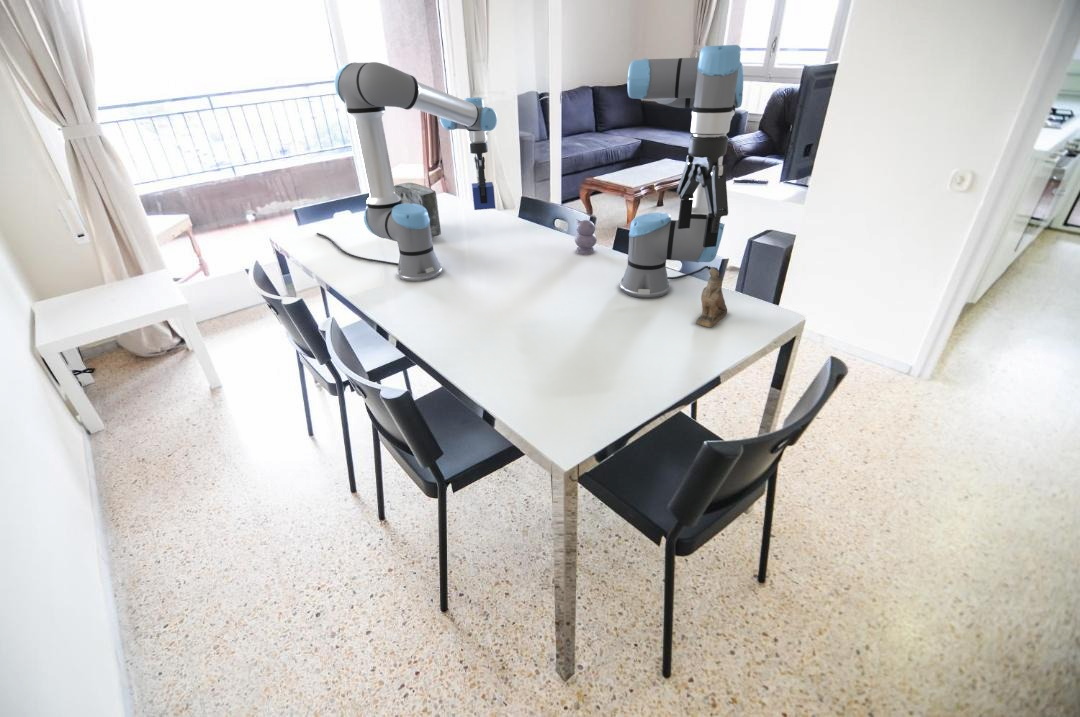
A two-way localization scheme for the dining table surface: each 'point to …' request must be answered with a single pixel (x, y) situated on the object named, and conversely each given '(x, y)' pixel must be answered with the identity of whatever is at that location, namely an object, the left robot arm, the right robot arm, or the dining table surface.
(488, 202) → the block
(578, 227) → the grey owl figurine
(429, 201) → the concrete block
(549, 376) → the dining table surface
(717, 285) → the worn brown figurine
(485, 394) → the dining table surface
